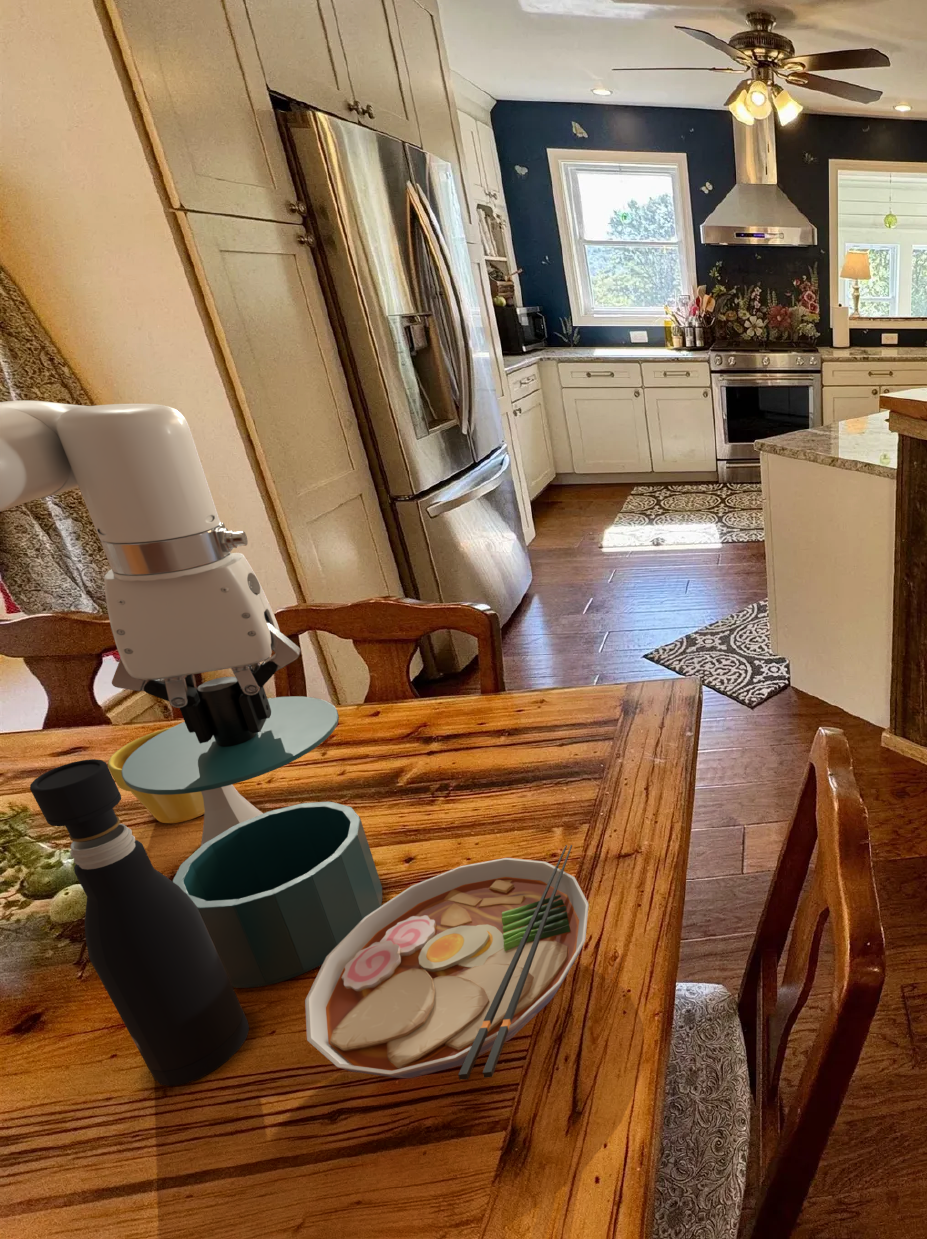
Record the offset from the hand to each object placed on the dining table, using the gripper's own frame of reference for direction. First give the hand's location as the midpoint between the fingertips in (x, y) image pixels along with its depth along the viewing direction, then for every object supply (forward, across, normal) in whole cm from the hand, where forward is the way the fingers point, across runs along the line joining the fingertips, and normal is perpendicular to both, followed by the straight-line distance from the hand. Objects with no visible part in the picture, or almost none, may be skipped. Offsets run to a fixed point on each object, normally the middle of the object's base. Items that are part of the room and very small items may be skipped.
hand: (234, 728), depth 67 cm
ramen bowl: (+24, -16, +20) cm, 35 cm away
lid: (+2, 0, 0) cm, 2 cm away
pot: (+24, 0, +1) cm, 24 cm away
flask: (+25, +9, -18) cm, 32 cm away
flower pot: (+25, +16, -29) cm, 41 cm away
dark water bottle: (+25, +5, +14) cm, 29 cm away
